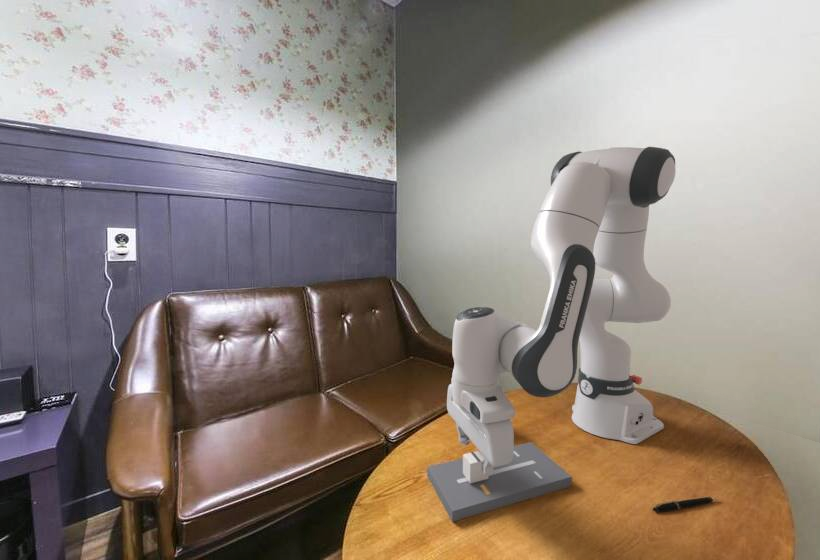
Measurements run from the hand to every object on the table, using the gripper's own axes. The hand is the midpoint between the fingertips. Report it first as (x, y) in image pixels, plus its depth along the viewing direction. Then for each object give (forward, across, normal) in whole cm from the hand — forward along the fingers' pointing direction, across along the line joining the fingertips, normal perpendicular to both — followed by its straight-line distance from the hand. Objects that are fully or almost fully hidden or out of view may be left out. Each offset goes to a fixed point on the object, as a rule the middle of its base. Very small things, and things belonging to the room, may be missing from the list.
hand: (474, 457), depth 64 cm
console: (+6, +1, +5) cm, 7 cm away
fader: (+3, +1, 0) cm, 3 cm away
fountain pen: (+6, +17, +34) cm, 38 cm away
